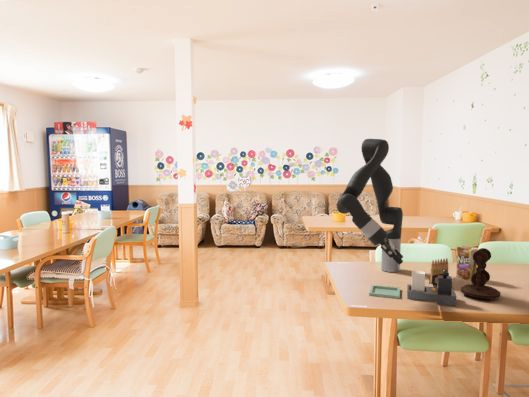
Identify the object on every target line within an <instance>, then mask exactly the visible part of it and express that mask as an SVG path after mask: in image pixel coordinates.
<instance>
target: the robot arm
mask: <svg viewBox="0 0 529 397" xmlns="http://www.w3.org/2000/svg"><path fill="white" fill-rule="evenodd" d="M389 146H390V145H389V143H388V141H387V140H386V139H382V138H365V139H364V140H363V141H362V143H361V154H362V158H363V160H364V163H365V164H364V165H363V166H362V167H360V168H359V169H358V170H356V171H355V172H354V173H353V175H352V177H350V179H349V182H348V183H347V185H346V187H345V189H344V191H343V192H342V193H341V195H340V196H339V198H338V200H337V201H336V210H337V211H338V212H339V213H341V214H344V215H346V214H350V216H351V218H352V219H351V220H352V223H353V224H354V225H355V226H356V227H357V228H358V229H359V231H361V233H362V234H363V235H364V236H365V238H367V240H369V242H370V243H371V244H372V245H373V246H375V247H376V246H378V245H380V248H381V264H380V265H381V268H380V270H382V271H384V272H386V271H387V272H388V273H398V272H401V264H402V263H403V262H404V260H403V258H404V256H403V254H402V253H401V245H402V243H401V242H402V230H403V229H402V226H403V218H404V217H403V215H404V214H403V209H402V208H401V207H400V206H399V207H397V206H388V205H387V202H388V199H389V198H390V196H391V194H392V193H393V189H394V186H393V182H392V177H391V175H390V174H389V173H388V171H387V170H386V169H385V168H384V167H383V166H382V165H381V164H382V163H383V162H384V160H385V159H386V157H387V156H388V153H389V148H390V147H389ZM369 180H371V181H370V182H371V185H372V188H373V192H374V195H375V200H376V203H377V209H378V215H379V220H380V222H381V223H382V224H384V225H390V226H391V225H392V226H393V227H392V228H391V229H388V230H385V229H384V228H383V227H382V226H381V225H380V224H379V223H378V221H376V220H375V219H374V218H373V217H371V215H370V214H369V213H368V212H367V211H366V210H365V208H364V206H363V205H362V204H361V202H360V200H359V199H358V198H359V196H361V194H362V193H363V191H364V190H365V187H366V186H367V183H368V182H369Z"/></svg>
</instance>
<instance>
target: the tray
mask: <svg viewBox="0 0 529 397" xmlns="http://www.w3.org/2000/svg"><path fill="white" fill-rule="evenodd" d="M368 294H369V295H368V296H371V297H380V298H390V299H398V300H399V299H401V298H400V297H401V296H400V295H401V287H397V286H387V285H377V284H371V285H370V288H369V293H368Z"/></svg>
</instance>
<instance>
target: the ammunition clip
mask: <svg viewBox="0 0 529 397" xmlns="http://www.w3.org/2000/svg"><path fill="white" fill-rule="evenodd" d="M443 269H446V270H447V276H450V274H449V273H450V272H449V260H448V257H446V258H443V259H442V258H440V259H432V261H431V265H430V273H429V279H428V280H429V281H428V282H429V283H428V284H429V285H432V287H437V280H438V275H441V276H443Z"/></svg>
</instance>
